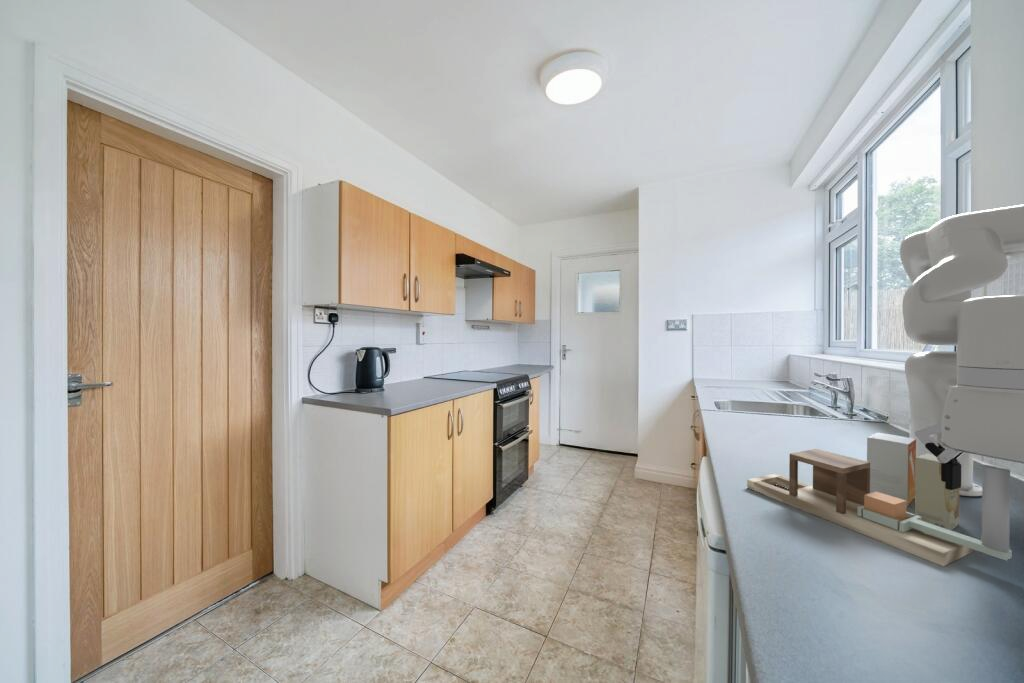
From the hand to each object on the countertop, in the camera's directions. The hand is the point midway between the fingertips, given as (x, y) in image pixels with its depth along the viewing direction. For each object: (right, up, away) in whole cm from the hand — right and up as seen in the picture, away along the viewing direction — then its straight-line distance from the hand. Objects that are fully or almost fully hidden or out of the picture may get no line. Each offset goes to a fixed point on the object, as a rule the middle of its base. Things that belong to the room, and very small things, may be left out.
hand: (996, 499), depth 52 cm
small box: (+12, -11, +25) cm, 30 cm away
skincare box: (+8, -11, +14) cm, 20 cm away
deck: (-7, -11, +17) cm, 21 cm away
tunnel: (-8, -9, +19) cm, 22 cm away
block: (-4, -9, +11) cm, 15 cm away
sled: (-3, -9, +6) cm, 11 cm away
